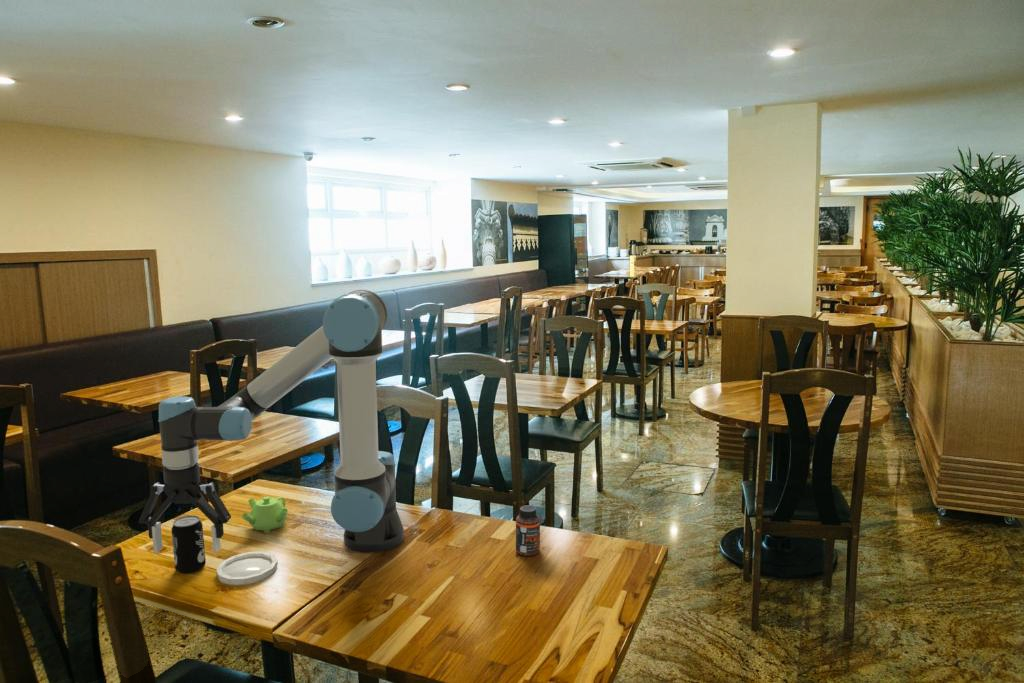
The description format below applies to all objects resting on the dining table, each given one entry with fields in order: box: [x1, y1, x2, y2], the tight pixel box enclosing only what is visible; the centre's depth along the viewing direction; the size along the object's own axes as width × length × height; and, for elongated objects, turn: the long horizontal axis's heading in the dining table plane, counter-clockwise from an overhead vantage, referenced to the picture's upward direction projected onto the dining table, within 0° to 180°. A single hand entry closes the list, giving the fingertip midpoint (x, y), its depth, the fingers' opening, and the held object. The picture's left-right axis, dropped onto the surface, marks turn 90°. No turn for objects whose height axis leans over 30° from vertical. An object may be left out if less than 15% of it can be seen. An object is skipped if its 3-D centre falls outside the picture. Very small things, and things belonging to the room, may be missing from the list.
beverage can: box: [170, 515, 207, 575], centre depth 163 cm, size 7×7×12 cm
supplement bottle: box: [515, 504, 541, 557], centre depth 170 cm, size 6×6×11 cm
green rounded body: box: [241, 496, 289, 534], centre depth 185 cm, size 11×12×8 cm
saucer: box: [216, 551, 279, 587], centre depth 162 cm, size 13×13×2 cm
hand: (187, 550), depth 163 cm, fingers open, 13 cm apart
